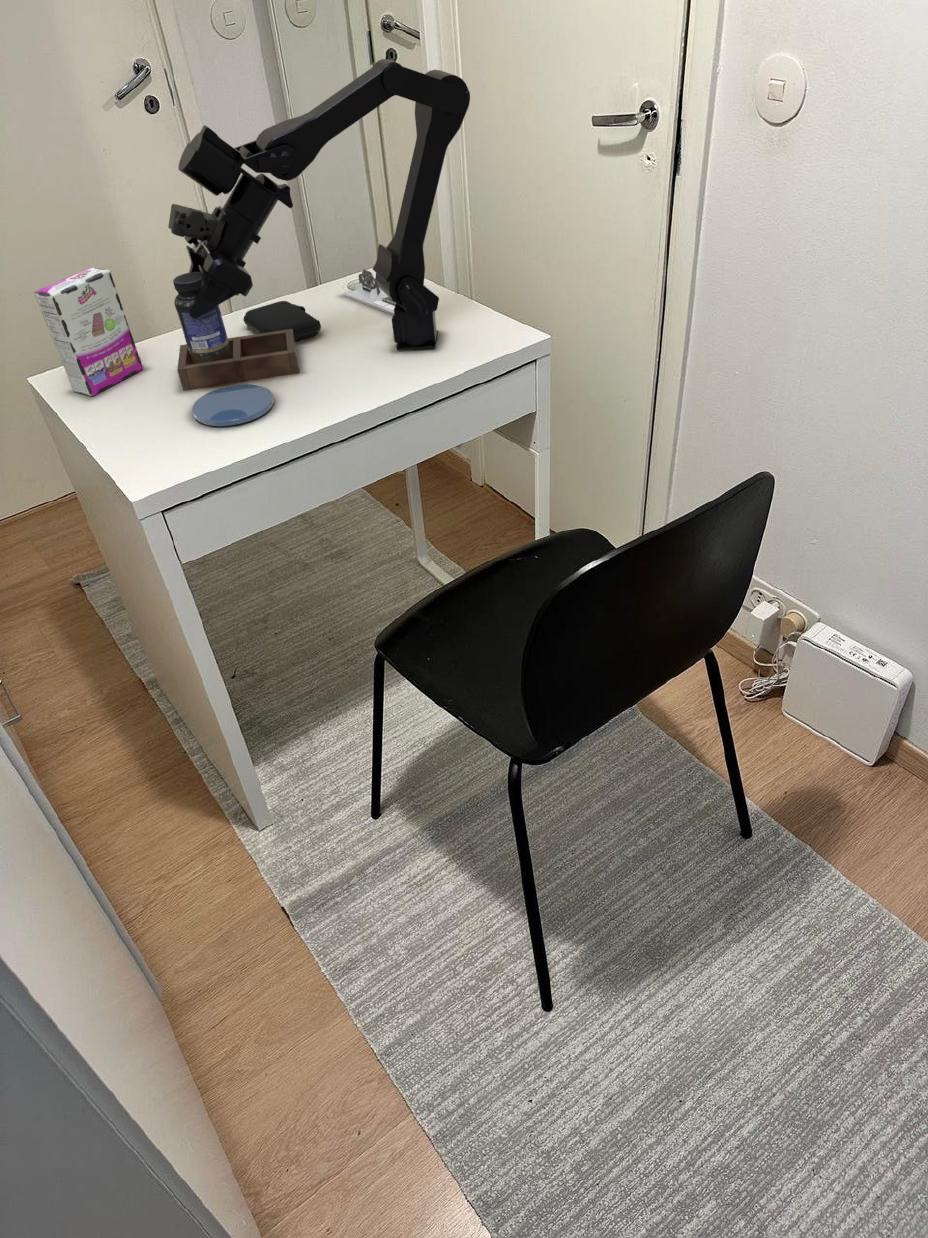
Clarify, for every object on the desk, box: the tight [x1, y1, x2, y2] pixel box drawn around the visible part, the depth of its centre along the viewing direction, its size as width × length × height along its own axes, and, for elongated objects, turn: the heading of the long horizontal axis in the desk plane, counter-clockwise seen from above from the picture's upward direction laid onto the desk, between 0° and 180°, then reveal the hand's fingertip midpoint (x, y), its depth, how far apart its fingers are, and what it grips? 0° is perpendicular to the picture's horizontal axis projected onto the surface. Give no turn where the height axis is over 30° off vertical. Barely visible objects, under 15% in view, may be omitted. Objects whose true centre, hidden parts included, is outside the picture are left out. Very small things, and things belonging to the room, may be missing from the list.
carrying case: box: [242, 300, 322, 344], centre depth 156 cm, size 11×3×15 cm
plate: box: [192, 383, 275, 427], centre depth 135 cm, size 12×12×1 cm
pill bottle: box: [172, 272, 229, 358], centre depth 132 cm, size 6×6×11 cm
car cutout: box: [344, 269, 396, 316], centre depth 163 cm, size 15×7×4 cm, turn 42°
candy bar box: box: [33, 266, 144, 397], centre depth 141 cm, size 11×5×16 cm, turn 148°
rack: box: [176, 329, 301, 391], centre depth 145 cm, size 18×10×4 cm, turn 101°
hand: (188, 309), depth 131 cm, fingers closed on pill bottle, 6 cm apart
